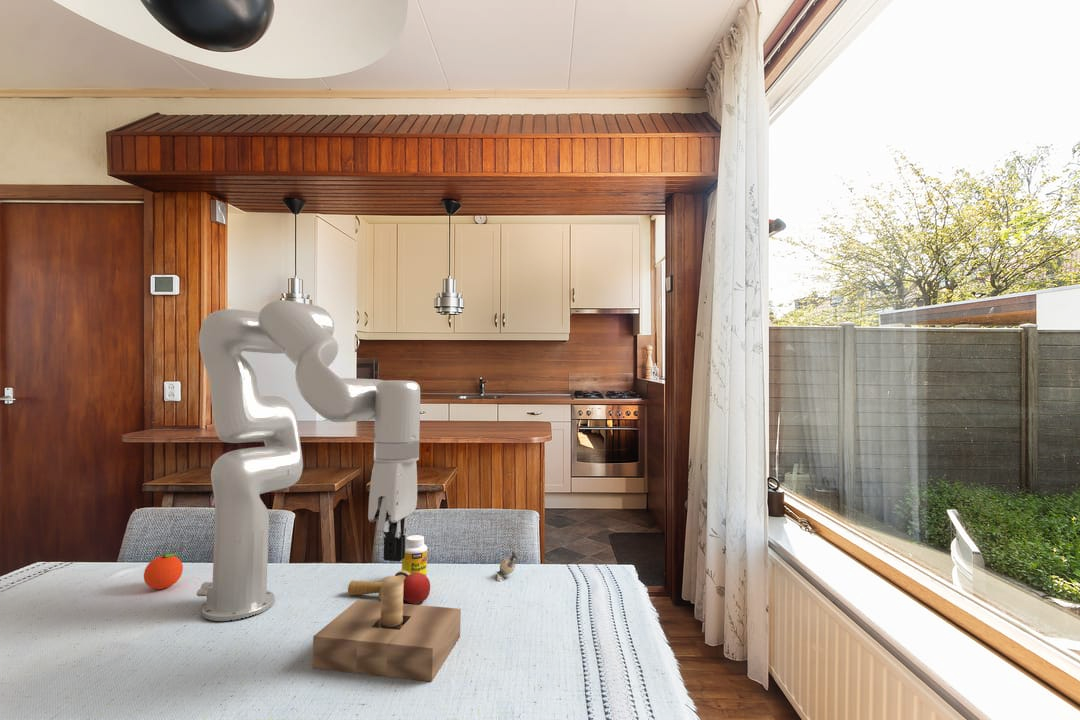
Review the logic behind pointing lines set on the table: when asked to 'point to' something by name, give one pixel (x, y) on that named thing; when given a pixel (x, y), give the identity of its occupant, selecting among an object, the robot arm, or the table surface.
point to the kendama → (413, 587)
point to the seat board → (388, 641)
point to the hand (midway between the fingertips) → (394, 559)
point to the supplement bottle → (415, 555)
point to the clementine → (163, 571)
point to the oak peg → (392, 602)
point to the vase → (507, 566)
